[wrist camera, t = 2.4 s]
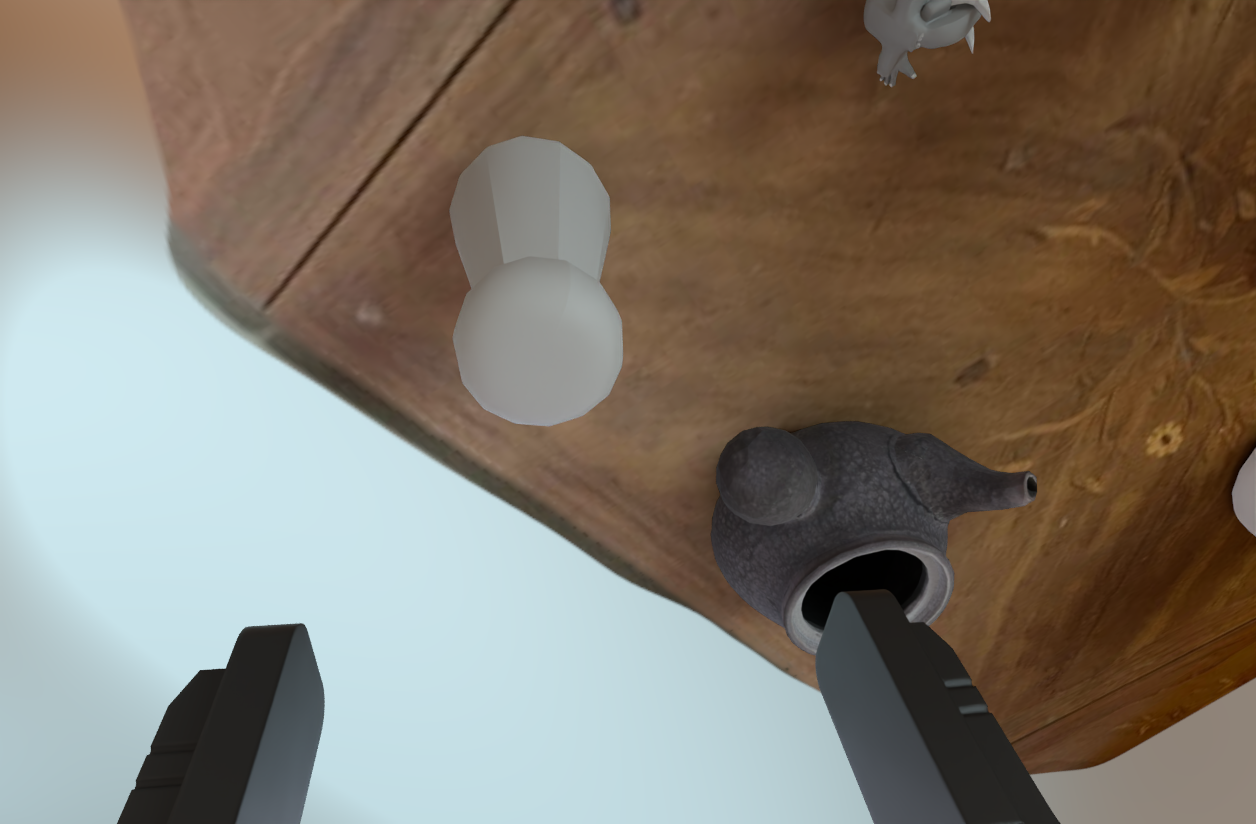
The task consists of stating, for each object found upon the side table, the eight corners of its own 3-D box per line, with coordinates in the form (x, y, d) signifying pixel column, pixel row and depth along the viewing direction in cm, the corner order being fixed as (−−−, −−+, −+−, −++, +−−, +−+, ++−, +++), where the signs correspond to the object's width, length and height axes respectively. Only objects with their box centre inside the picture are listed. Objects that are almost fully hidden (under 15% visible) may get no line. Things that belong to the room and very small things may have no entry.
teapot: (1008, 449, 39) (1139, 588, 31) (793, 603, 44) (857, 757, 36) (809, 231, 30) (920, 346, 22) (568, 456, 35) (585, 617, 27)
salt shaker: (629, 225, 29) (698, 401, 18) (510, 293, 30) (509, 498, 19) (554, 90, 25) (584, 209, 15) (423, 171, 26) (365, 337, 16)
